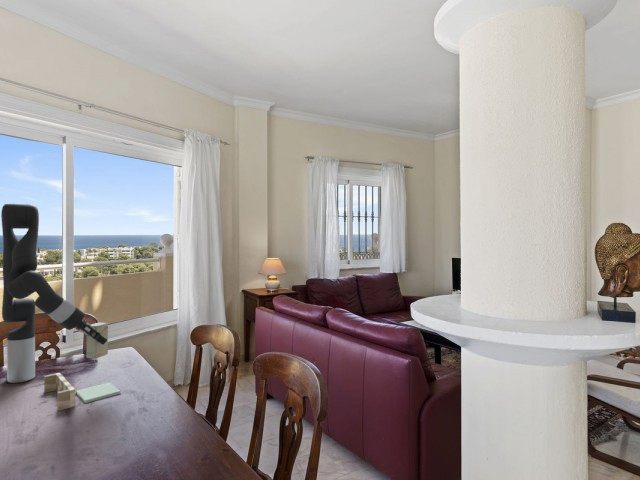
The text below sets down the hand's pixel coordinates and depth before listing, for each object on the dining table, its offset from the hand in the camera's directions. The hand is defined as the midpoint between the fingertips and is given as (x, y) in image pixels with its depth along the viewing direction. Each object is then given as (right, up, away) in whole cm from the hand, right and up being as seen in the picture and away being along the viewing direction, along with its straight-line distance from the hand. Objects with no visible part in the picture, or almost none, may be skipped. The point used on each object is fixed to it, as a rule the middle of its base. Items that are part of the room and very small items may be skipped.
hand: (102, 340), depth 149 cm
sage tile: (-1, -20, -1) cm, 20 cm away
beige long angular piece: (-13, -20, -5) cm, 24 cm away
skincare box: (-1, -6, -1) cm, 6 cm away
